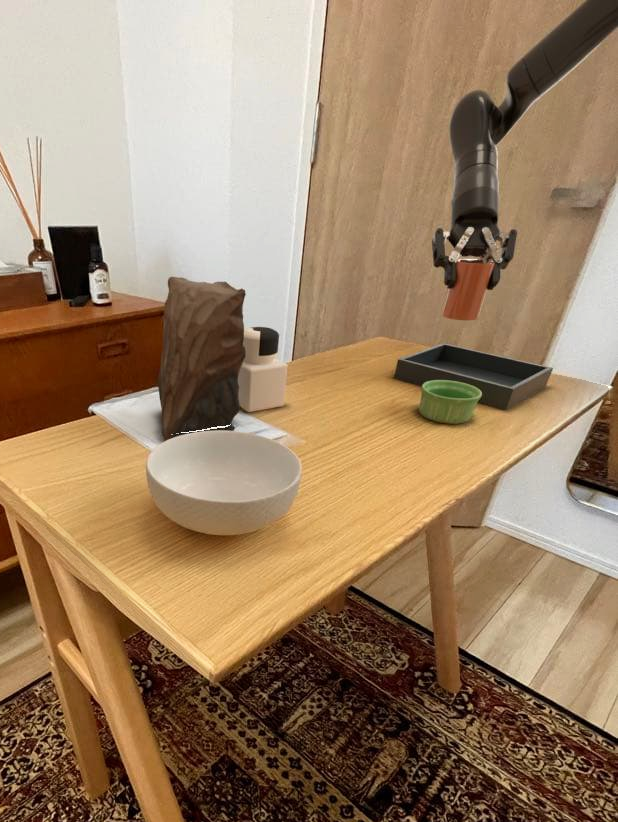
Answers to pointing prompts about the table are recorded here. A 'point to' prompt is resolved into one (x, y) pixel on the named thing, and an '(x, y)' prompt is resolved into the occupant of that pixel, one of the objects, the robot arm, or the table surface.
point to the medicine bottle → (261, 371)
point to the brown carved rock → (200, 356)
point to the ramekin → (448, 401)
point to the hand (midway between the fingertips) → (471, 286)
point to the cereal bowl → (223, 481)
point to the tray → (476, 373)
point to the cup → (468, 289)
